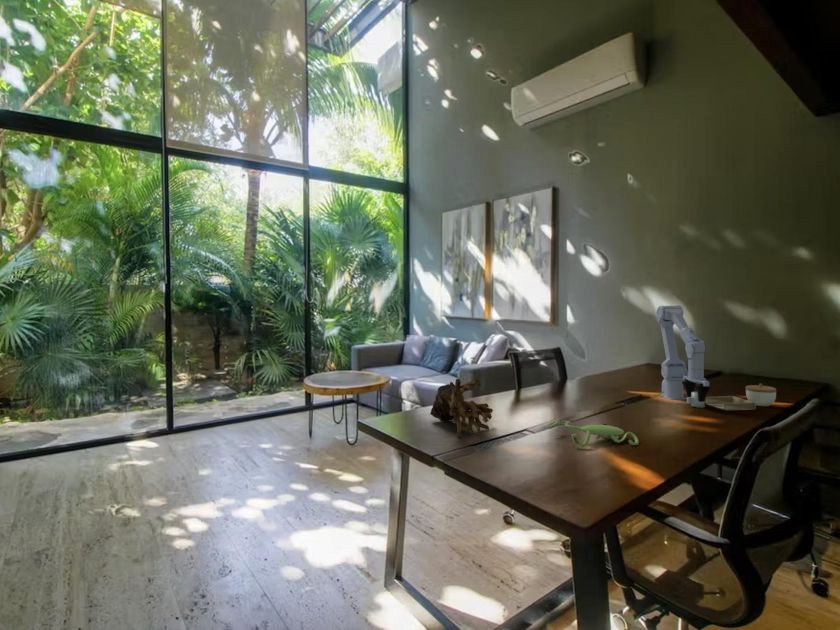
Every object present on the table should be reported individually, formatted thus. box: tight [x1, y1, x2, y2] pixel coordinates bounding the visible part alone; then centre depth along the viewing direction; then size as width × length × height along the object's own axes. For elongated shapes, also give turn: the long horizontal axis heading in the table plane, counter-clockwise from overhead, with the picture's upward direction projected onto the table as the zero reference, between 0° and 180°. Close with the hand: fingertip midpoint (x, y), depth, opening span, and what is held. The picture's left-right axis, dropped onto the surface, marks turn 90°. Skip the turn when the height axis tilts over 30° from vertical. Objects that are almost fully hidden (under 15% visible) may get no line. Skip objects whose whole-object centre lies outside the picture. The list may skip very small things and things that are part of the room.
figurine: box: [548, 420, 640, 450], centre depth 155 cm, size 18×27×6 cm
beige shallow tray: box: [705, 395, 757, 411], centre depth 194 cm, size 13×13×3 cm
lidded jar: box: [745, 383, 777, 407], centre depth 195 cm, size 11×11×9 cm
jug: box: [686, 390, 706, 409], centre depth 195 cm, size 5×7×6 cm
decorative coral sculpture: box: [429, 378, 494, 438], centre depth 171 cm, size 26×23×30 cm
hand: (695, 399), depth 195 cm, fingers open, 7 cm apart
